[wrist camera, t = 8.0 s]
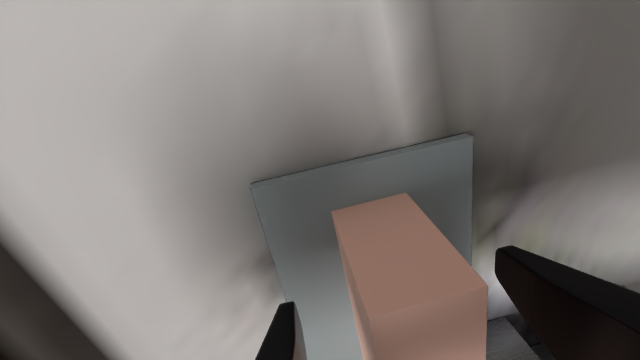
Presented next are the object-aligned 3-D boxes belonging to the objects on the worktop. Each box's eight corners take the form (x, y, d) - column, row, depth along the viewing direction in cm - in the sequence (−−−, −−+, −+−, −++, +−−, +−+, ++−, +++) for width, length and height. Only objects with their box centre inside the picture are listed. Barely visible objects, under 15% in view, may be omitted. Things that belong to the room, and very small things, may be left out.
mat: (464, 383, 16) (469, 392, 15) (326, 421, 15) (327, 431, 15) (465, 133, 10) (473, 136, 10) (251, 183, 10) (250, 189, 10)
